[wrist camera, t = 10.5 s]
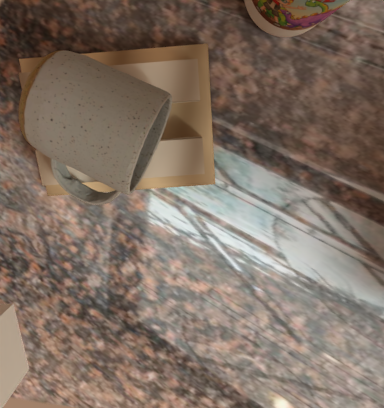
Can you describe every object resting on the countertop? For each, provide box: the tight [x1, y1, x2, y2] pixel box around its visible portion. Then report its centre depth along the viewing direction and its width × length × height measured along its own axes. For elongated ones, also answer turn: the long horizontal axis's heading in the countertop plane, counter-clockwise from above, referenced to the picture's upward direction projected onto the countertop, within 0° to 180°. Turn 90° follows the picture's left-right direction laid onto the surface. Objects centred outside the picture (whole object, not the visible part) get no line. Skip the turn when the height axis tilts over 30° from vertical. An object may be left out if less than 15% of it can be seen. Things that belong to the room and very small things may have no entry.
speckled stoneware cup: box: [18, 50, 172, 205], centre depth 21 cm, size 11×8×8 cm
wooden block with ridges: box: [18, 44, 215, 196], centre depth 27 cm, size 16×12×4 cm
